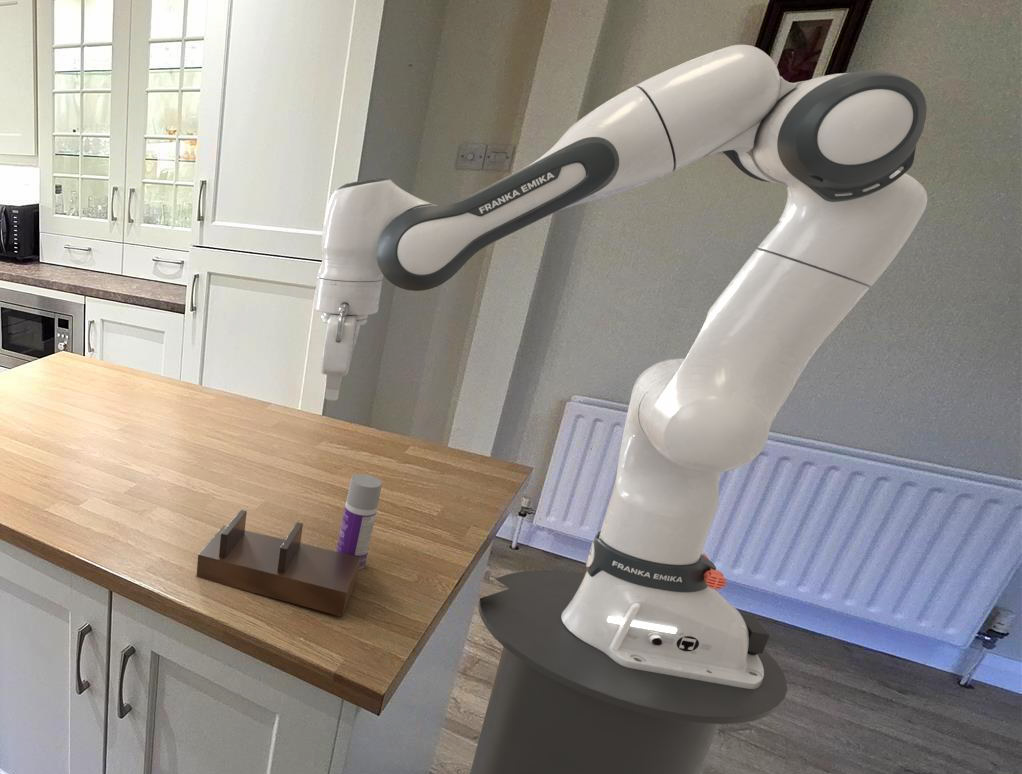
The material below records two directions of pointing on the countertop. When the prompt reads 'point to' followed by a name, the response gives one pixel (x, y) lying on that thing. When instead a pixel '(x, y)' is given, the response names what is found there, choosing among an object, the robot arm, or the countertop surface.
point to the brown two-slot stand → (279, 567)
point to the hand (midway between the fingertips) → (333, 391)
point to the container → (359, 516)
